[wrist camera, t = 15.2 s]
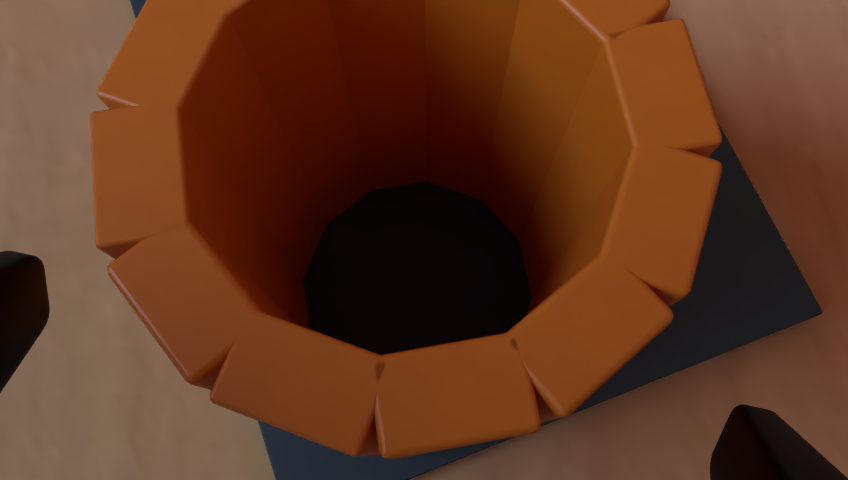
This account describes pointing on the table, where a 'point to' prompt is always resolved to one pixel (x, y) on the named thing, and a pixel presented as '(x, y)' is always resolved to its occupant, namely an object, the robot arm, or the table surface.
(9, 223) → the table surface
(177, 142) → the orange slatted cup
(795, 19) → the table surface
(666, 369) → the mat
